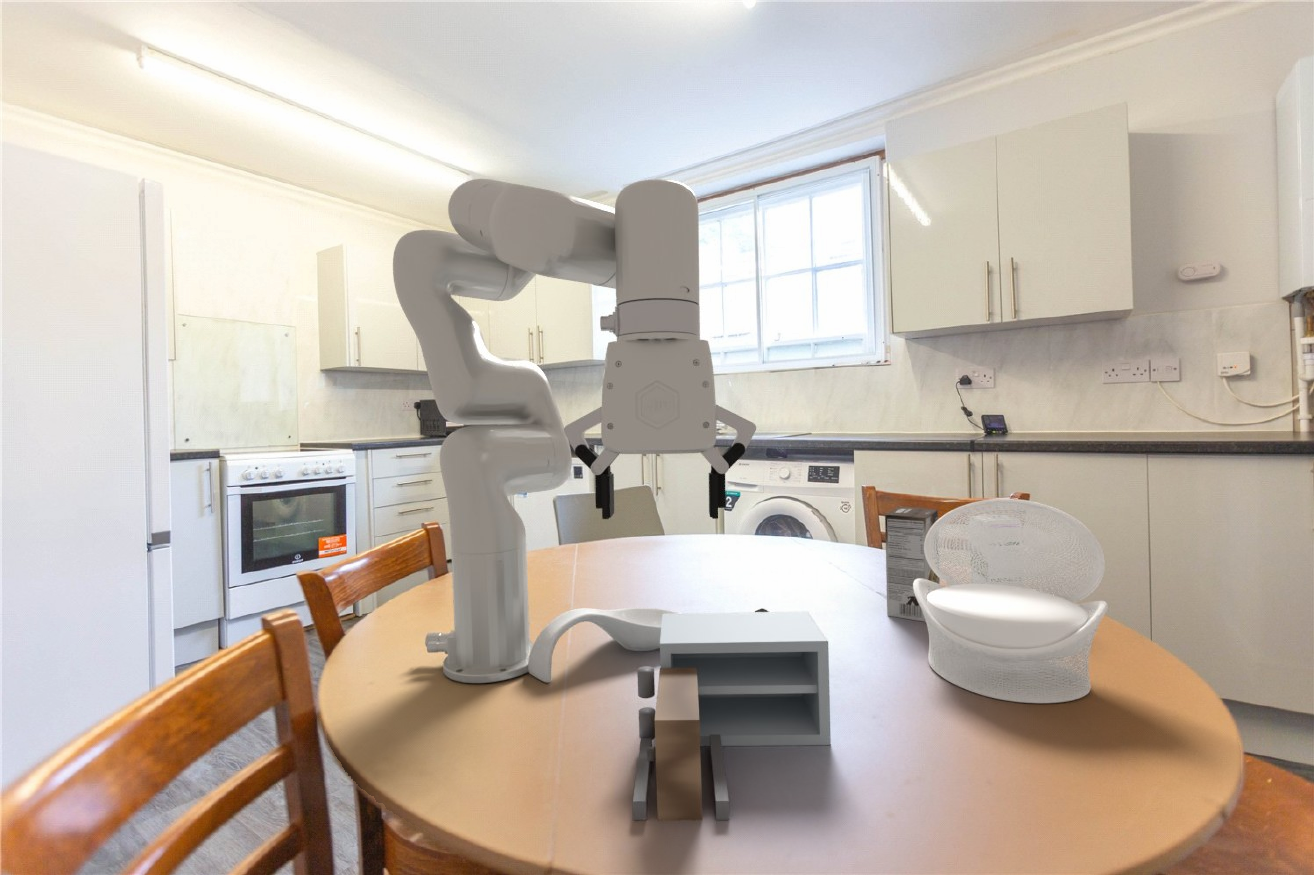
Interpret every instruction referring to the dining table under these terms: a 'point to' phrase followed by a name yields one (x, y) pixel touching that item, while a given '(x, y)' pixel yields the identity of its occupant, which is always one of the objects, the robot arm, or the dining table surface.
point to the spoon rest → (623, 625)
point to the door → (677, 745)
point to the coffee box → (907, 559)
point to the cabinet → (742, 686)
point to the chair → (1012, 602)
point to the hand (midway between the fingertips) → (660, 516)
